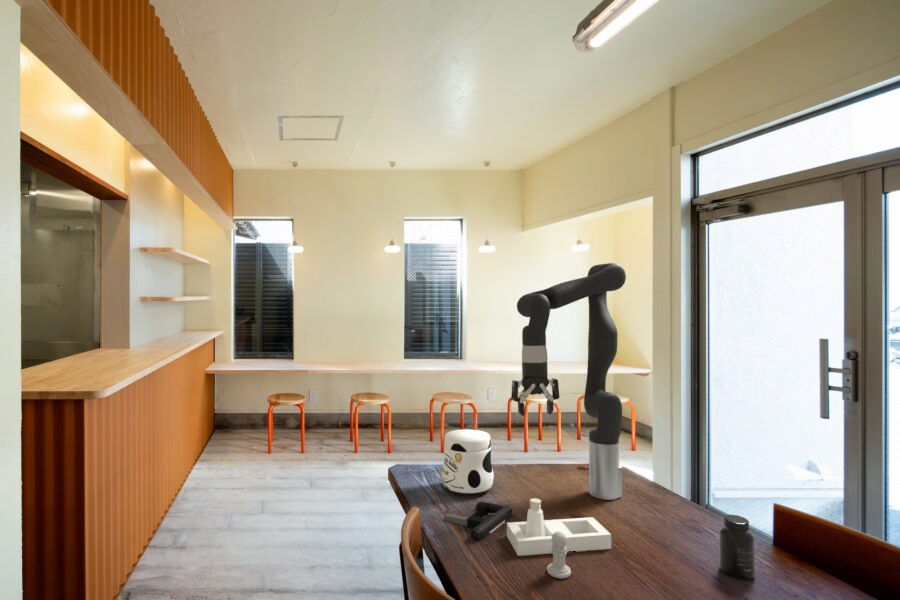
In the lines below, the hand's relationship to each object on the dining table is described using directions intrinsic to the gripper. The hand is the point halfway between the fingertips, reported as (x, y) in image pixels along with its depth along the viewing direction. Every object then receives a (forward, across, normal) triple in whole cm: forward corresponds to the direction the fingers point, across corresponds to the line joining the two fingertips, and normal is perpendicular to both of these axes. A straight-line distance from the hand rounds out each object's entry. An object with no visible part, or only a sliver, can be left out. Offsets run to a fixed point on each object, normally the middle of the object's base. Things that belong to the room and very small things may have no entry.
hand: (535, 414), depth 138 cm
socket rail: (+28, +2, +20) cm, 34 cm away
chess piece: (+28, +8, +33) cm, 44 cm away
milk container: (+28, +17, -20) cm, 39 cm away
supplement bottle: (+29, -32, +39) cm, 59 cm away
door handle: (+28, +20, +4) cm, 35 cm away
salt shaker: (+28, +8, +20) cm, 35 cm away
